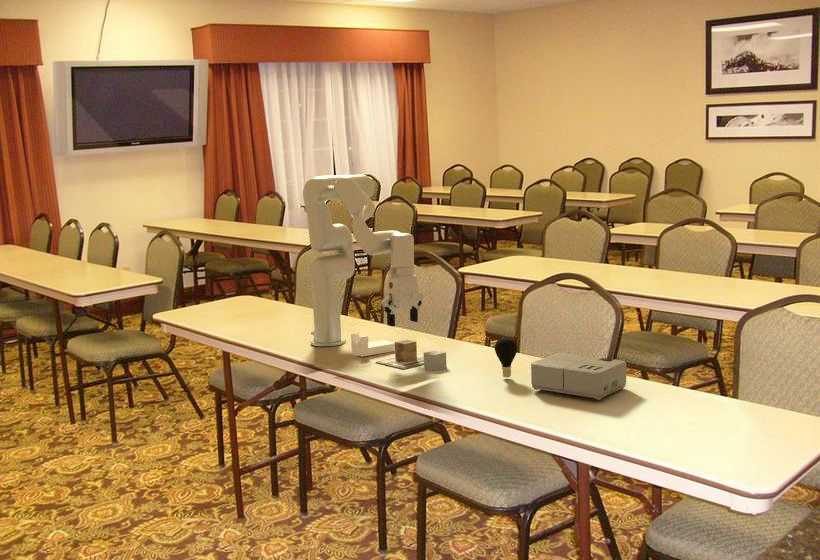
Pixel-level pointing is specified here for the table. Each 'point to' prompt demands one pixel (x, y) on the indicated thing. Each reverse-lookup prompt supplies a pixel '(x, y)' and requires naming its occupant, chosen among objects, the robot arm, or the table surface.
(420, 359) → the brown white flat panel
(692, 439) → the table surface
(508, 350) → the light bulb
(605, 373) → the projector
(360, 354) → the bracket
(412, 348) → the walnut block
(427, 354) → the block
